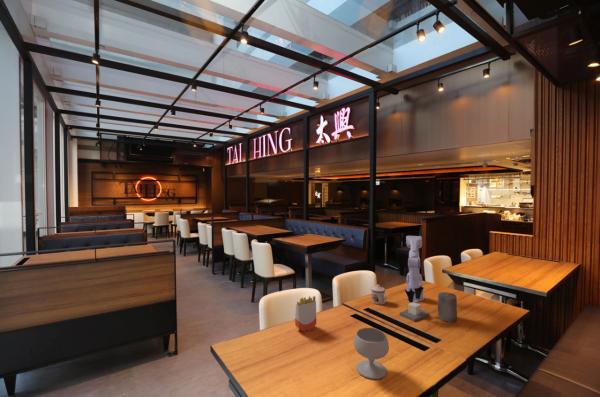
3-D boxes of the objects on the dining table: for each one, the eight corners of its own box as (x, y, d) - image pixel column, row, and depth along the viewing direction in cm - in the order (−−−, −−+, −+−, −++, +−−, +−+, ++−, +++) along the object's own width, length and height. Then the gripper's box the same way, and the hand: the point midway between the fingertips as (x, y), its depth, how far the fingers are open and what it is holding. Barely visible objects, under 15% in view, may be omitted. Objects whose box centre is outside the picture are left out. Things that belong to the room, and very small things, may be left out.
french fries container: (295, 329, 149) (294, 296, 149) (312, 324, 154) (311, 293, 154) (298, 333, 145) (298, 299, 145) (316, 328, 150) (316, 295, 150)
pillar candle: (452, 315, 164) (451, 290, 163) (460, 322, 154) (459, 296, 154) (435, 314, 165) (434, 289, 164) (442, 322, 155) (441, 295, 155)
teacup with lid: (368, 301, 186) (368, 284, 186) (378, 298, 190) (378, 282, 190) (380, 307, 176) (380, 289, 175) (391, 305, 179) (391, 287, 179)
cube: (412, 310, 168) (412, 302, 167) (420, 313, 164) (420, 304, 164) (408, 312, 165) (408, 304, 164) (416, 315, 161) (416, 306, 160)
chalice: (382, 359, 122) (382, 325, 121) (394, 381, 108) (394, 343, 107) (351, 360, 121) (350, 326, 121) (358, 382, 107) (358, 344, 107)
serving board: (414, 309, 172) (414, 307, 172) (429, 315, 163) (429, 313, 163) (399, 315, 165) (399, 312, 165) (414, 321, 156) (414, 319, 156)
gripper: (414, 273, 171) (414, 295, 171) (401, 278, 162) (401, 301, 163) (425, 276, 166) (425, 298, 166) (412, 281, 157) (412, 305, 157)
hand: (414, 300), depth 164 cm, fingers open, 7 cm apart
